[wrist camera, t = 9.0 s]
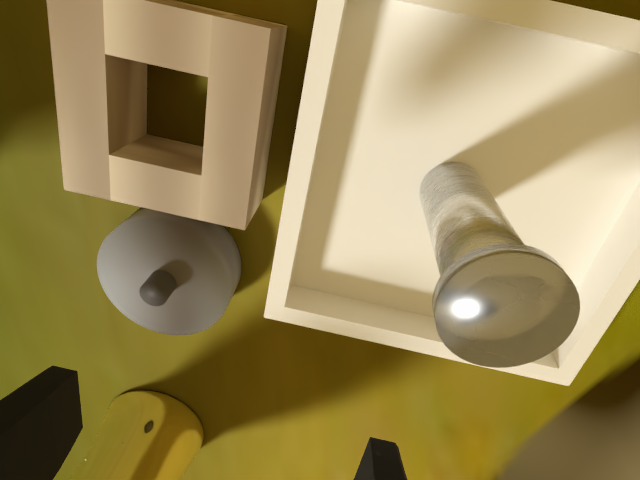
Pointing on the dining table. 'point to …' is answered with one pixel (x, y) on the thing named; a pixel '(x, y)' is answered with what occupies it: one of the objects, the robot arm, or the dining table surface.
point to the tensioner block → (166, 147)
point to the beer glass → (143, 440)
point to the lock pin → (491, 276)
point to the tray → (459, 160)
